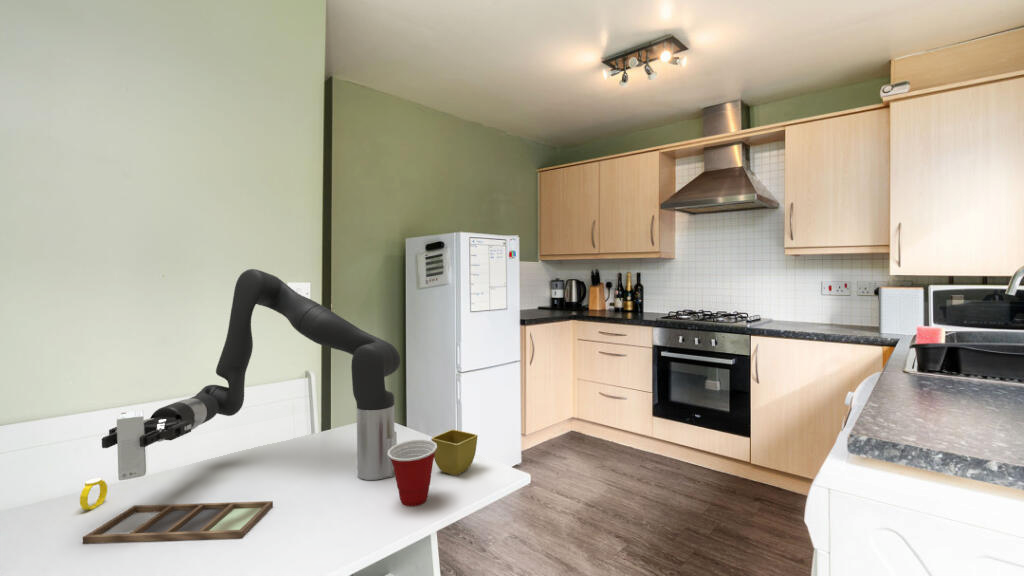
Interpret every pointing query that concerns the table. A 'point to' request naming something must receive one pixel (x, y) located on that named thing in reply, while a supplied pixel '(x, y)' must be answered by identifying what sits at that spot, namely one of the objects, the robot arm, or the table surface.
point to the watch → (86, 490)
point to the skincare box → (130, 445)
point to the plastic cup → (413, 469)
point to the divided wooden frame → (186, 522)
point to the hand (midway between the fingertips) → (122, 442)
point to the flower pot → (455, 451)
